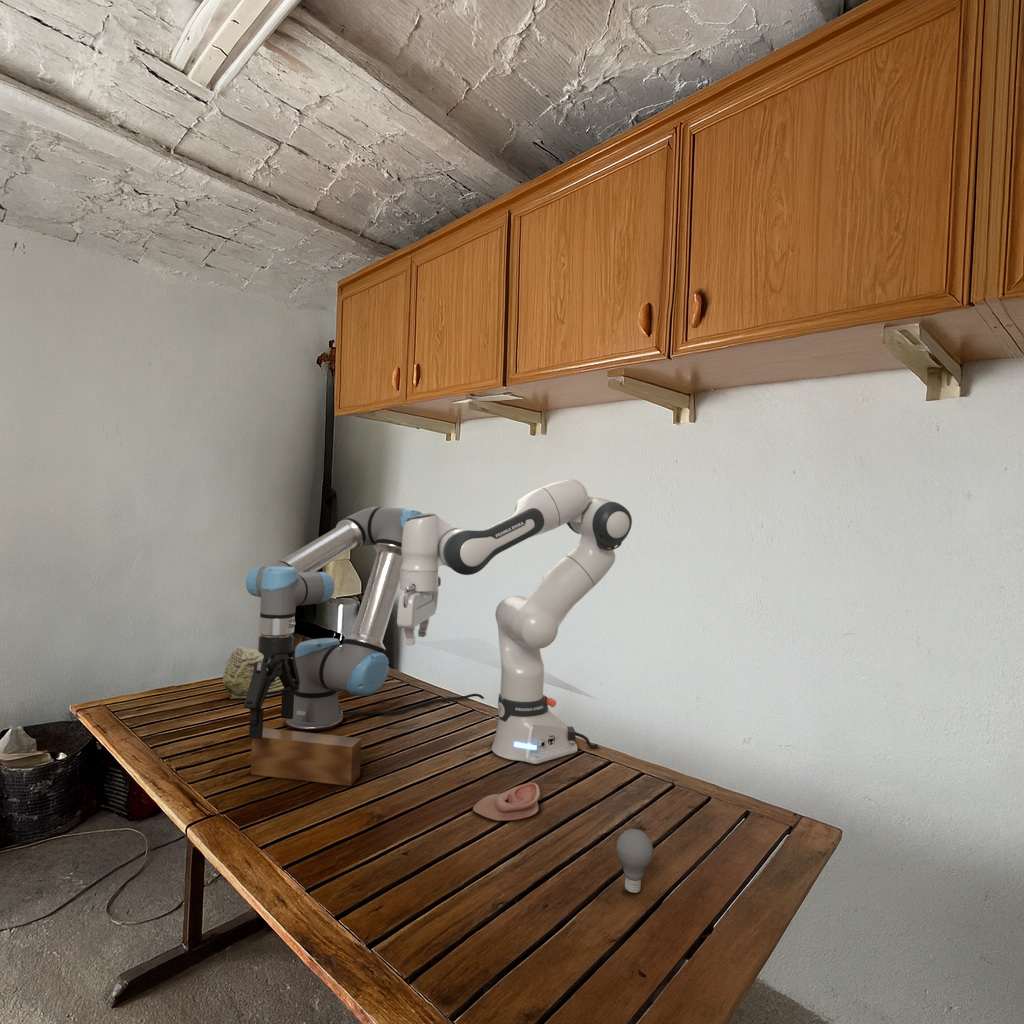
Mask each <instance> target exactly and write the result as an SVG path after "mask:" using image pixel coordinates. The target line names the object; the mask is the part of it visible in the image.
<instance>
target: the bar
mask: <svg viewBox="0 0 1024 1024" xmlns="http://www.w3.org/2000/svg"><path fill="white" fill-rule="evenodd" d="M250 752H251V755H250V775H253V776H261V777H269V778H279V779H287V780H296V781H303V782H311V783H313V782H314V783H320V784H329V785H340V786H347V787H352V786H353V784H355V782H357V780H358V779H359V778H360V777H361V760H362V737H355V736H354V737H352V736H344V735H335V734H324V733H316V732H301V731H295V730H288V729H277V728H269V727H263V733H262V739H253V738H251V751H250Z"/></svg>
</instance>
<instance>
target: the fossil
mask: <svg viewBox="0 0 1024 1024" xmlns="http://www.w3.org/2000/svg"><path fill="white" fill-rule="evenodd" d="M263 657H264V656H263V654H262V653H260V652H259V651H258V648H251V647H247V646H246V647H245V646H238V647H237V648H236V649H235V650H233V651H232V653H231V656H230V657H229V659H228V660H227V663H226V666H225V668H224V671H223V675H222V676H223V677H222V685H223V687H224V688H225V690H226V691H228V693H229V698H230V699H246V696H247V692H248V689H249V686H250V682H251V679H252V675H253V671H254V663H255V662H262V661H263ZM283 690H286V689H284V687H283V684H282V682H281V680H280V678H279V676H277V677H276V678H275V680H274V681H272V683H271V685H270V687H269V690H268V692H267V695H266V697H271V696H275V695H281V694H282V691H283Z"/></svg>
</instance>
